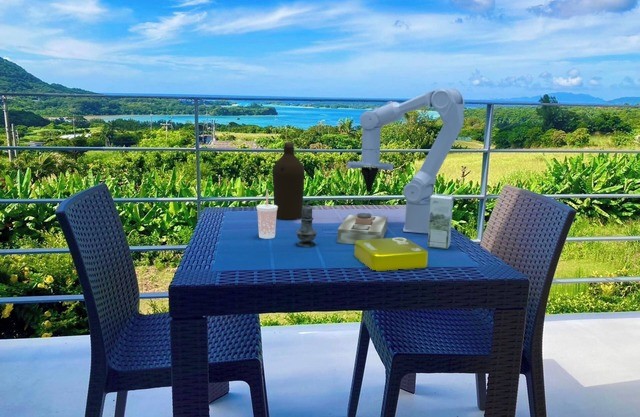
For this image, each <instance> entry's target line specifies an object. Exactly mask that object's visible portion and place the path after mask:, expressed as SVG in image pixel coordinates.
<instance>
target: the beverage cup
mask: <svg viewBox="0 0 640 417" xmlns="http://www.w3.org/2000/svg"><path fill="white" fill-rule="evenodd" d="M265 191H266V192H265V195H266V196H265V200H266V202H265V203H264V204H257V205H256V211H257V226H258V236H259V237H258V238H260V239H266V240H267V239H268V240H269V239H274V238H275V237H276V228H277V227H276V225H277V224H276V223H277V218H276V213H277V208H278V206H276V205H274V204H270V203H269V189H268V188H267V189H265Z"/></svg>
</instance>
